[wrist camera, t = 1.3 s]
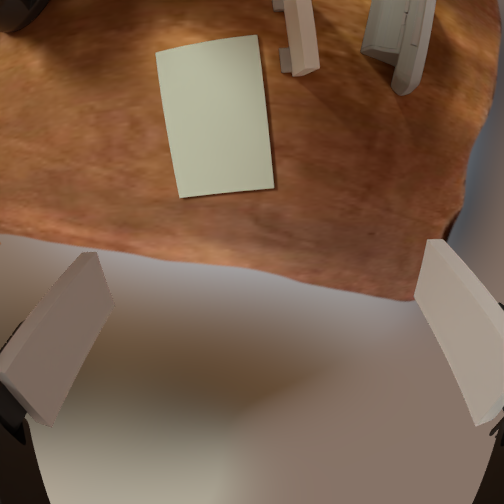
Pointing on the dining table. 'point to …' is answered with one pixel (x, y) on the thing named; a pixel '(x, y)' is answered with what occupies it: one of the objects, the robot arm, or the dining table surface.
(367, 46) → the digital clock
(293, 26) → the screen
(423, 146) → the dining table surface
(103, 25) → the dining table surface
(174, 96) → the mat
